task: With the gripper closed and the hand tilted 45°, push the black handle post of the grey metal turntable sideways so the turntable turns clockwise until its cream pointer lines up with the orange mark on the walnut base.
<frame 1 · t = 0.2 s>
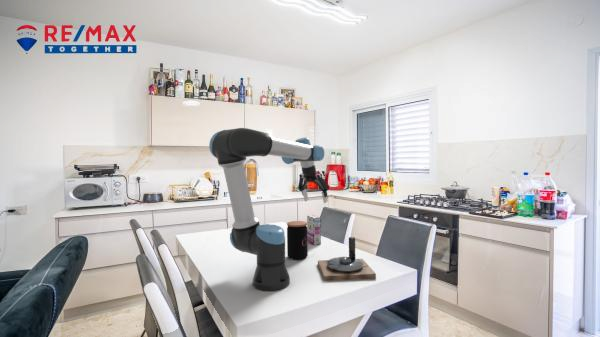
hand: (315, 201, 167), 28 cm above the table, tool tilted 20°, fingers open, 13 cm apart
capstan turntable: (344, 253, 134), point 8 cm above the table, hinge at 45.0°
coffee jar: (297, 257, 156), on the table
walnut base: (344, 271, 134), on the table
candy bar box: (314, 242, 183), on the table
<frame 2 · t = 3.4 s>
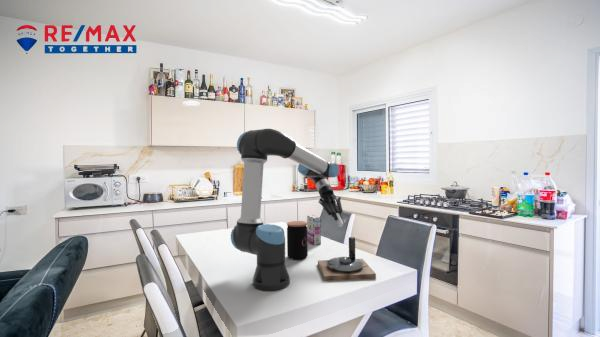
hand: (341, 225, 147), 18 cm above the table, tool tilted 45°, fingers closed
nothing on the table moved.
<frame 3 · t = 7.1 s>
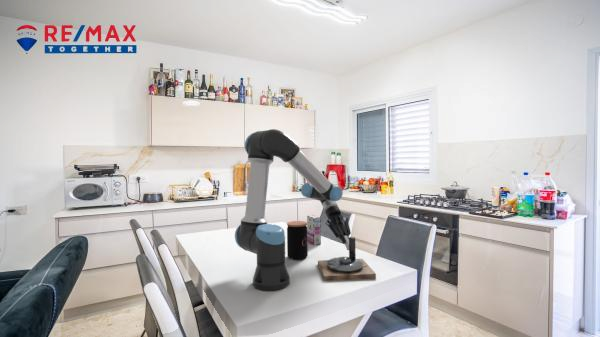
hand: (349, 248, 142), 8 cm above the table, tool tilted 45°, fingers closed
capstan turntable: (344, 253, 134), point 8 cm above the table, hinge at 44.1°, touching gripper
everything else where it was.
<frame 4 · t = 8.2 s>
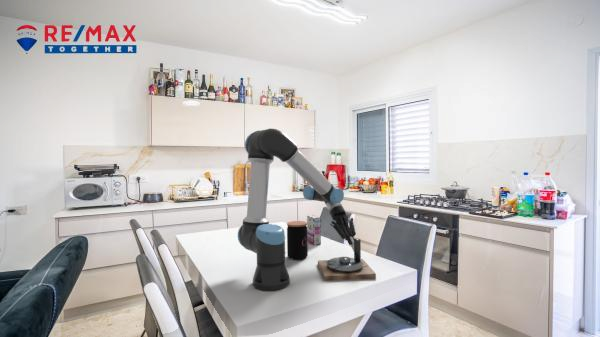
hand: (355, 250, 139), 8 cm above the table, tool tilted 45°, fingers closed
capstan turntable: (344, 253, 134), point 8 cm above the table, hinge at 14.1°, touching gripper
everything else where it was.
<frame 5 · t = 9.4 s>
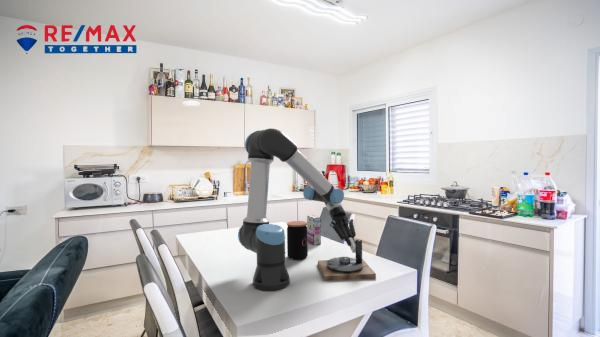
hand: (355, 251, 137), 8 cm above the table, tool tilted 45°, fingers closed
capstan turntable: (344, 253, 134), point 8 cm above the table, hinge at -1.9°
everything else where it was.
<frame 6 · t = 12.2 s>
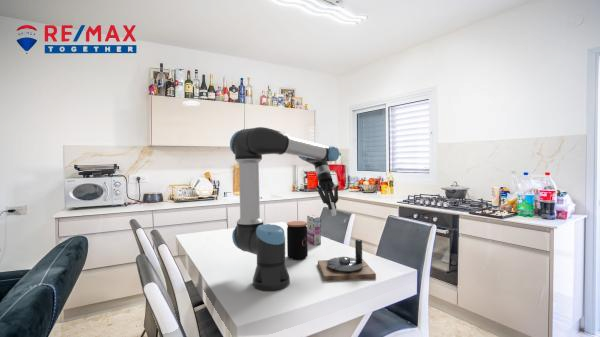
hand: (334, 215, 147), 23 cm above the table, tool tilted 35°, fingers closed
nothing on the table moved.
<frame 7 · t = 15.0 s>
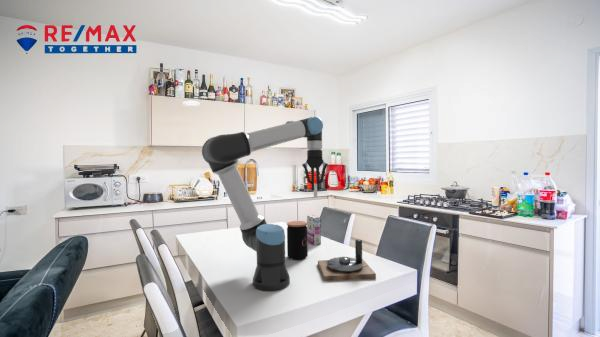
hand: (315, 196, 148), 32 cm above the table, tool pointing down, fingers closed
nothing on the table moved.
at the end: capstan turntable at -2° (first picture: +45°) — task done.
